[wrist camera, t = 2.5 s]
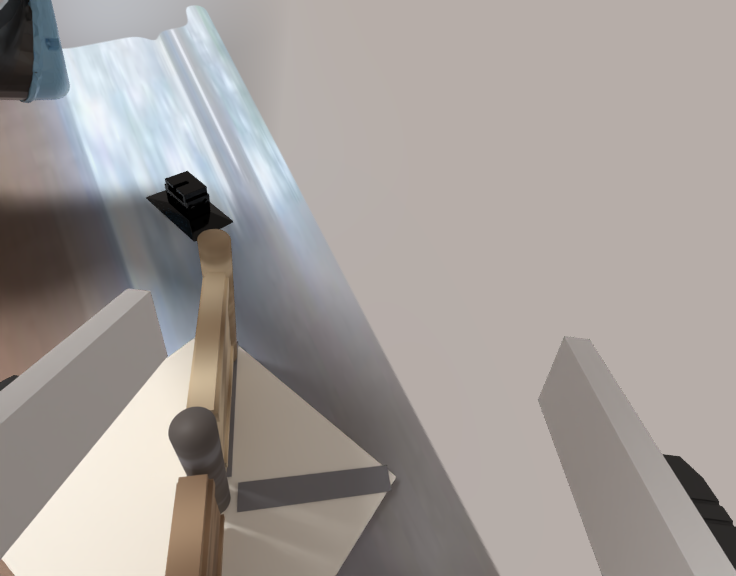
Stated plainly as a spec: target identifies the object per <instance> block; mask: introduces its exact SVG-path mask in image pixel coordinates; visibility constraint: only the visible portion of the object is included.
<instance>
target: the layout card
mask: <svg viewBox="0 0 736 576" xmlns="http://www.w3.org/2000/svg"><path fill="white" fill-rule="evenodd" d="M194 343H195V338H194V339H192V340H191V341H189V342H188V343H187V344H185V345H184V346H183V347H181V348H180V349H179V350H177V351H176V352H175V353H173V354H172V355H170V356H169V357H168V358H166V359H165V360H164V361H163V362H162V364H161V365H160V366H159V367H158V368H157V370H156V371H155V372H154V373H153V375H152V376H151V377H150V378H149V379H148V381H147V382H146V383H145V384H144V386H143V387H142V388H141V389H140V390H139V392H138V393H137V394H136V395H135V396H134V398H133V399H132V400H131V401H130V403H129V404H128V405H127V406H126V407H125V409H124V410H123V411H122V412H121V414H120V415H119V416H118V417H117V418H116V420H115V421H114V422H113V423H112V425H111V426H110V427H109V428H108V429H107V431H106V432H105V433H104V434H103V435H102V437H101V438H100V439H99V440H98V442H97V443H96V444H95V445H94V446H93V448H92V449H91V450H90V451H89V453H88V454H87V455H86V456H85V457H84V459H83V460H82V461H81V462H80V463H79V465H78V466H77V467H76V468H75V470H74V471H73V472H72V473H71V474H70V476H69V477H68V478H67V479H66V481H65V482H64V483H63V484H62V485H61V487H60V488H59V489H58V490H57V491H56V493H55V494H54V495H53V496H52V498H51V499H50V500H49V501H48V502H47V504H46V505H45V506H44V507H43V509H42V510H41V511H40V512H39V513H38V515H37V516H36V517H35V518H34V519H33V521H32V522H31V523H30V524H29V526H28V527H27V528H26V529H25V530H24V532H23V533H22V534H21V535H20V537H19V538H18V539H17V540H16V541H15V543H14V544H13V545H12V546H11V547H10V549H9V550H8V551H7V552H6V554H5V555H4V556H3V557H2V560H3V561H4V562H5V563H6V565H7V566H8V567H9V569H10V570H11V571H12V572H13V574H14V575H15V576H165V571H166V563H167V555H168V547H169V539H170V532H171V524H172V516H173V508H174V500H175V492H176V484H177V483H178V479H179V477H186V476H187V475H186V473H185V471H184V469H183V467H182V465H181V463H180V461H179V459H178V456H177V454H176V452H175V450H174V448H173V446H172V444H171V442H170V440H169V436H168V430H169V426H170V423H171V422H172V420H173V418H174V417H175V416H176V415H177V414H178V413H180V412H181V411H183V410H185V409H186V406H187V398H188V390H189V382H190V374H191V367H192V359H193V351H194ZM226 474H227V479H228V485H229V490H230V496H231V500H230V503H229V506H228V507H227V509H226V510H225V511H224V512H222V513H221V514H224V516H225V523H224V541H223V559H222V576H336V574H337V573H338V571H339V570H340V568H341V566H342V565H343V563H344V561H345V560H346V558H347V556H348V555H349V553H350V552H351V550H352V548H353V547H354V545H355V543H356V542H357V540H358V539H359V537H360V535H361V534H362V532H363V530H364V529H365V527H366V526H367V524H368V522H369V521H370V519H371V517H372V516H373V514H374V513H375V511H376V509H377V508H378V506H379V504H380V503H381V501H382V500H383V498H384V496H385V495H386V493H387V492H389V491H392V490H391V485H392V483H393V482H394V480H395V478H396V476H394V475H393V474H392V473H391V472H390V471H388V467H387V465H383V466H382V465H381V464H380V463H379V462H378V461H376V460H375V459H374V458H373V457H372V456H370V455H369V454H368V453H367V452H366V451H364V450H363V449H362V448H361V447H360V446H358V445H357V444H356V443H355V442H354V441H352V440H351V439H350V438H349V437H348V436H346V435H345V434H344V433H343V432H342V431H340V430H339V429H338V428H337V427H336V426H334V425H333V424H332V423H331V422H330V421H328V420H327V419H326V418H325V417H324V416H322V415H321V414H320V413H319V412H318V411H316V410H315V409H314V408H313V407H312V406H310V405H309V404H308V403H307V402H306V401H304V400H303V399H302V398H301V397H300V396H298V395H297V394H296V393H295V392H294V391H292V390H291V389H290V388H289V387H288V386H286V385H285V384H284V383H283V382H282V381H280V380H279V379H278V378H277V377H276V376H274V375H273V374H272V373H271V372H270V371H268V370H267V369H266V368H265V367H264V366H262V365H261V364H260V363H259V362H258V361H256V360H255V359H254V358H253V357H252V356H250V355H249V354H248V353H247V352H246V351H244V350H243V349H242V348H241V347H240V346H238V341H237V359H236V360H235V362H233V378H232V396H231V414H230V432H229V450H228V467H227V470H226Z"/></svg>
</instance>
